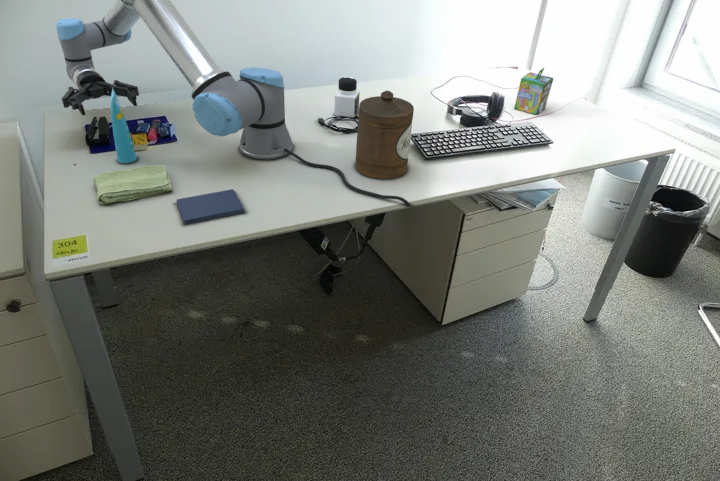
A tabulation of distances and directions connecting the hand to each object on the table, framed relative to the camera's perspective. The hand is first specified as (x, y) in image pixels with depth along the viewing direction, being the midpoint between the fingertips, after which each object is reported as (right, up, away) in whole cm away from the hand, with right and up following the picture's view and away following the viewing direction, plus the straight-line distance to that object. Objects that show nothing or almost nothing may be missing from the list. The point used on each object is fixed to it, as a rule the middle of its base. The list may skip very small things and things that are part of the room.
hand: (109, 105), depth 142 cm
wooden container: (+75, -16, +6) cm, 77 cm away
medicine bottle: (+64, +7, +37) cm, 74 cm away
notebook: (+32, -29, -16) cm, 46 cm away
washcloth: (+11, -24, -10) cm, 28 cm away
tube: (+4, -15, +2) cm, 15 cm away
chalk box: (+131, +11, +49) cm, 140 cm away
